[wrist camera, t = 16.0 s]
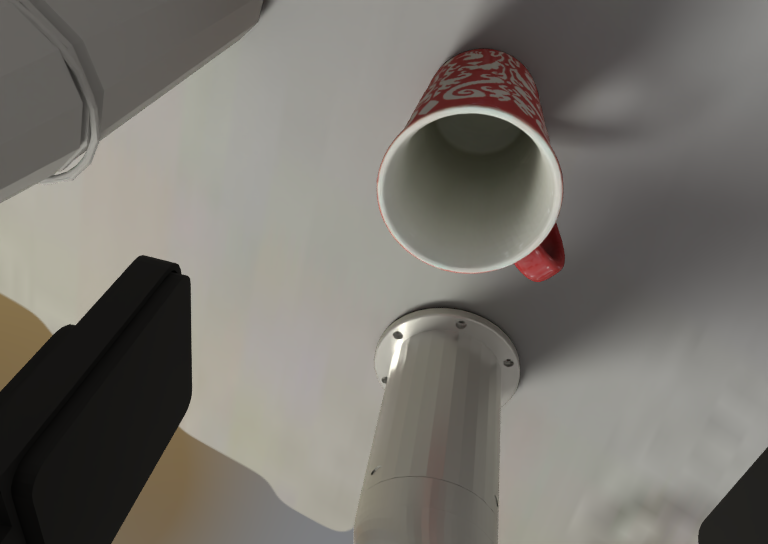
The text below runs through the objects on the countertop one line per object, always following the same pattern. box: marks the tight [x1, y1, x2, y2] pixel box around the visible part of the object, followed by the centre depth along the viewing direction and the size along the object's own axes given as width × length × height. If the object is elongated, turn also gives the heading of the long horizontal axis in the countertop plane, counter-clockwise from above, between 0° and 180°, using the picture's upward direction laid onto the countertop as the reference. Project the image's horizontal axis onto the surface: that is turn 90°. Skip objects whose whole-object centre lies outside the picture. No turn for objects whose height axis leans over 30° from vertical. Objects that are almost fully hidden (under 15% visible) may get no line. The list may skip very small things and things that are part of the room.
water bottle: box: [0, 0, 263, 203], centre depth 30 cm, size 9×8×25 cm
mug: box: [377, 49, 565, 282], centre depth 36 cm, size 13×9×14 cm
